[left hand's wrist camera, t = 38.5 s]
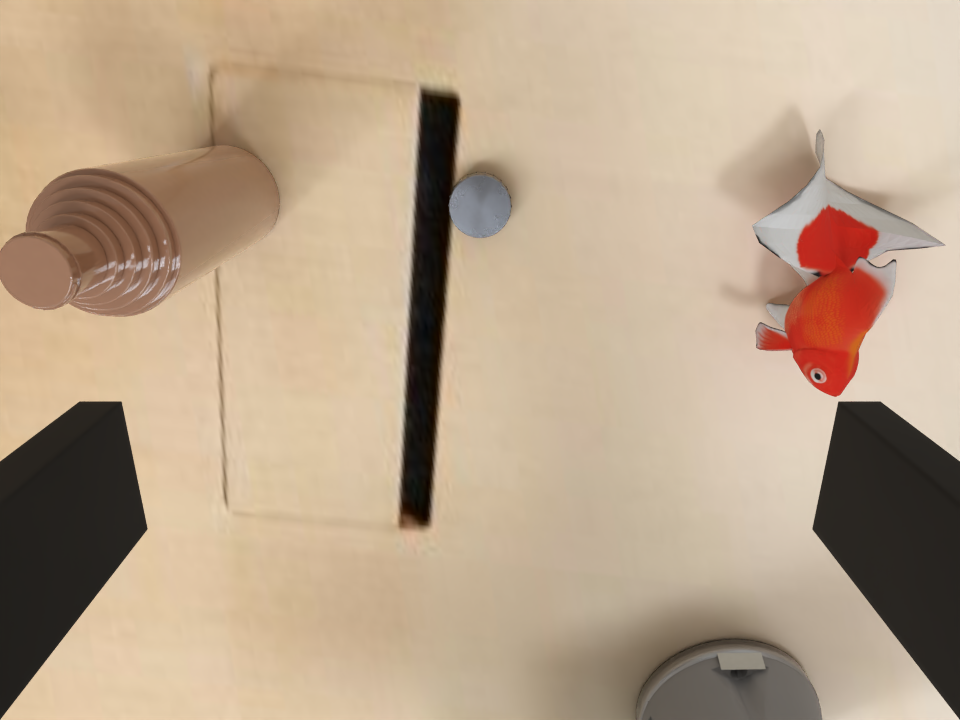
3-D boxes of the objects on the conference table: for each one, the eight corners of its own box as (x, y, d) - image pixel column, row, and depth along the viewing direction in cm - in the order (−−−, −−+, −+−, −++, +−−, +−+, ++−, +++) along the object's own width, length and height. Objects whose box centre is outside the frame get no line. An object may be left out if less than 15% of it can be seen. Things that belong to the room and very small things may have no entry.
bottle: (166, 220, 45) (-73, 312, 26) (196, 126, 43) (-39, 149, 24) (260, 263, 46) (98, 383, 27) (294, 173, 44) (146, 232, 25)
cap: (521, 213, 45) (523, 217, 43) (469, 245, 46) (469, 250, 44) (490, 159, 44) (491, 161, 42) (437, 193, 44) (436, 196, 43)
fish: (680, 375, 44) (813, 376, 35) (708, 141, 45) (844, 83, 36) (799, 399, 48) (946, 406, 39) (822, 185, 49) (969, 143, 40)
